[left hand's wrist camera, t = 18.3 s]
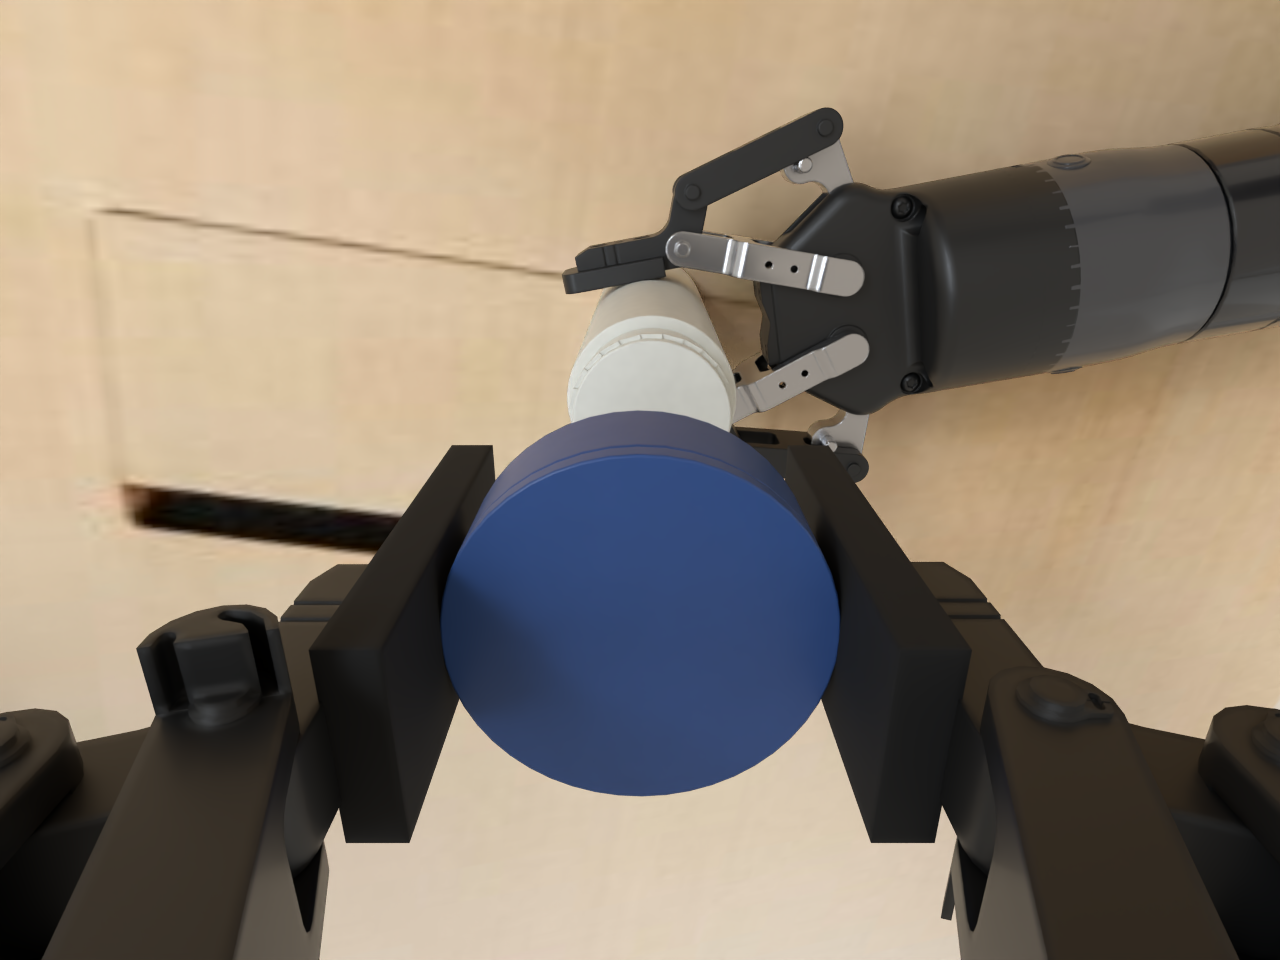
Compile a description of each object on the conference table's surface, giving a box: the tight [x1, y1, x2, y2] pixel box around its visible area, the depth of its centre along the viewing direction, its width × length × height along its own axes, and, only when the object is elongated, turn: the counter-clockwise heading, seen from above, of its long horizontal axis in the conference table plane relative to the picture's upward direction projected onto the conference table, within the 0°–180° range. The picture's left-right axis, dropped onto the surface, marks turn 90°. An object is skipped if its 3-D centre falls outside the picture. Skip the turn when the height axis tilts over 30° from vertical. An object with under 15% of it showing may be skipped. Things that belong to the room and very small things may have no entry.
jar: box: [567, 268, 736, 432], centre depth 27 cm, size 5×5×17 cm
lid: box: [440, 410, 841, 796], centre depth 11 cm, size 6×6×2 cm
